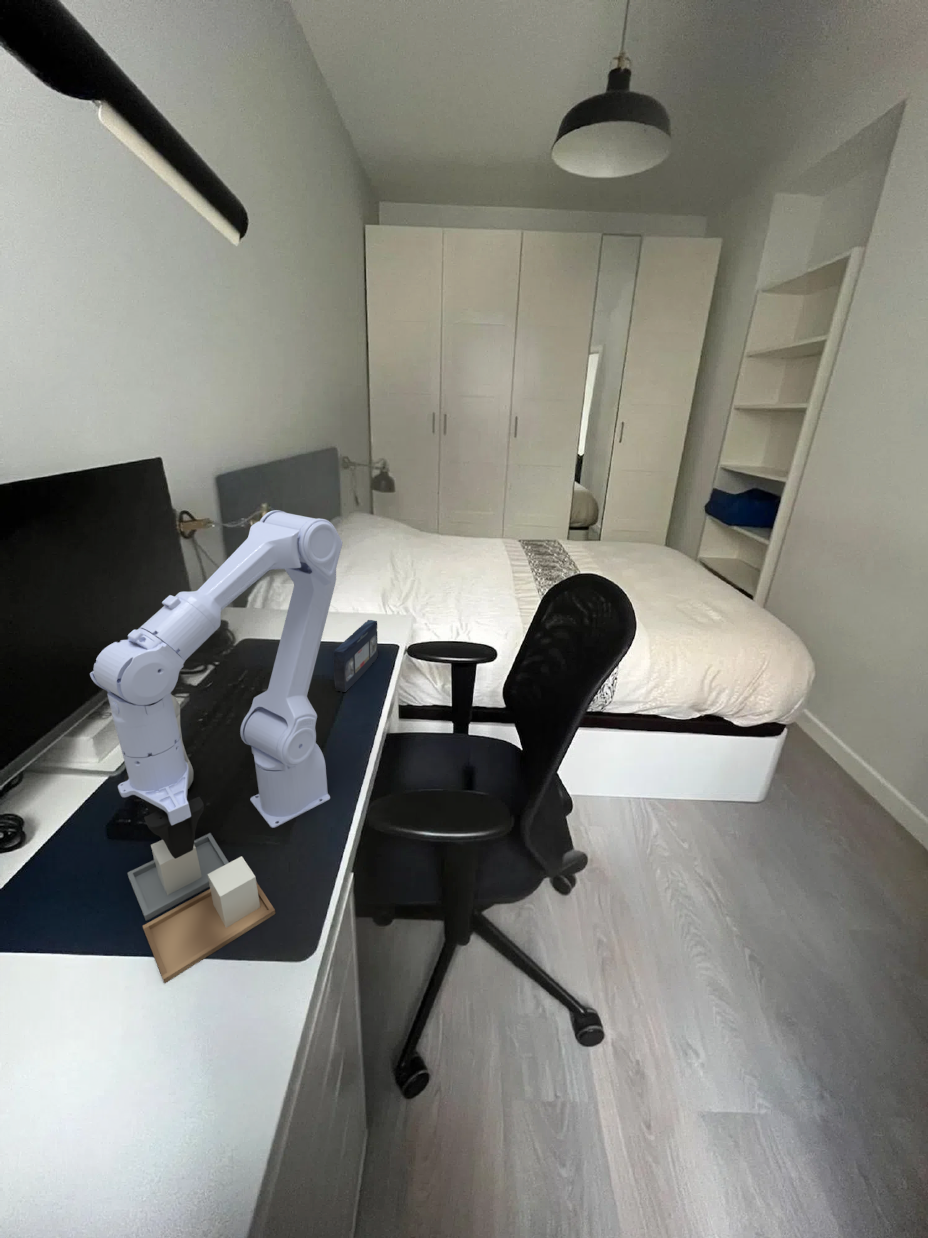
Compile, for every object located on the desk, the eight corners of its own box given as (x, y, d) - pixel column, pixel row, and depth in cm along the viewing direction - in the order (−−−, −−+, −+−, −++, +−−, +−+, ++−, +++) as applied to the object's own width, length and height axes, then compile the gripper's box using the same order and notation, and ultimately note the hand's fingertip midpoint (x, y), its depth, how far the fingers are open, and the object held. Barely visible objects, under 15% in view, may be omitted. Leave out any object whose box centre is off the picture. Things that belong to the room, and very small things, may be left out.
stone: (246, 886, 64) (241, 856, 62) (260, 907, 62) (255, 876, 60) (213, 905, 62) (207, 874, 60) (226, 928, 59) (220, 896, 57)
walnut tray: (248, 874, 66) (247, 868, 66) (275, 916, 61) (274, 910, 61) (144, 932, 58) (142, 926, 58) (165, 986, 53) (163, 979, 53)
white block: (191, 858, 68) (185, 829, 66) (201, 877, 65) (195, 847, 63) (158, 874, 65) (150, 845, 63) (167, 895, 62) (159, 865, 61)
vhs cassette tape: (345, 694, 109) (343, 652, 105) (332, 692, 110) (330, 650, 106) (380, 658, 126) (379, 620, 122) (369, 656, 126) (367, 619, 123)
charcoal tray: (211, 839, 71) (210, 832, 71) (233, 875, 66) (232, 868, 66) (129, 879, 65) (127, 872, 64) (146, 923, 59) (144, 916, 59)
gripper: (95, 727, 60) (121, 817, 65) (126, 792, 50) (153, 891, 55) (162, 706, 64) (181, 791, 70) (202, 762, 55) (220, 856, 60)
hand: (173, 834), depth 63 cm, fingers open, 7 cm apart
